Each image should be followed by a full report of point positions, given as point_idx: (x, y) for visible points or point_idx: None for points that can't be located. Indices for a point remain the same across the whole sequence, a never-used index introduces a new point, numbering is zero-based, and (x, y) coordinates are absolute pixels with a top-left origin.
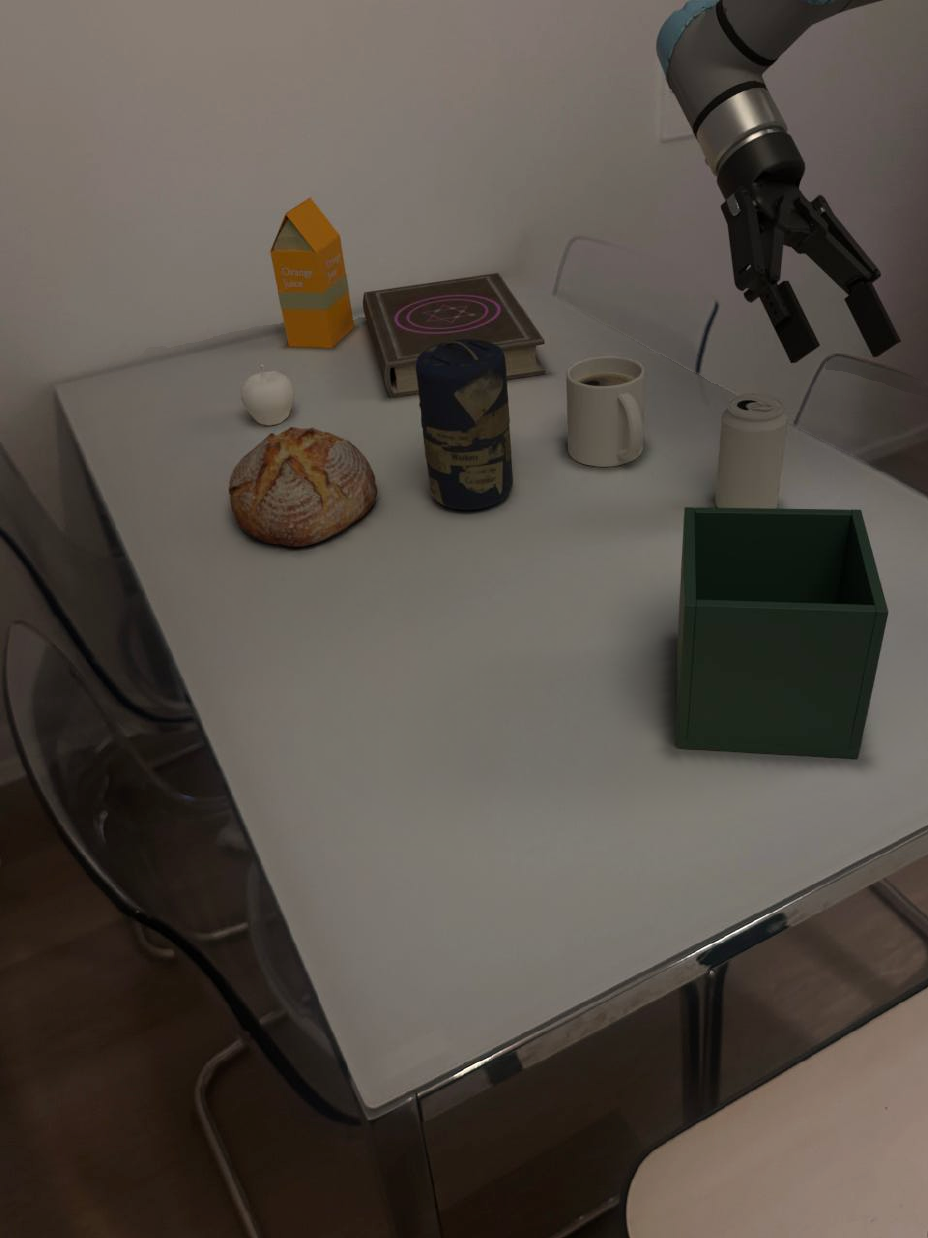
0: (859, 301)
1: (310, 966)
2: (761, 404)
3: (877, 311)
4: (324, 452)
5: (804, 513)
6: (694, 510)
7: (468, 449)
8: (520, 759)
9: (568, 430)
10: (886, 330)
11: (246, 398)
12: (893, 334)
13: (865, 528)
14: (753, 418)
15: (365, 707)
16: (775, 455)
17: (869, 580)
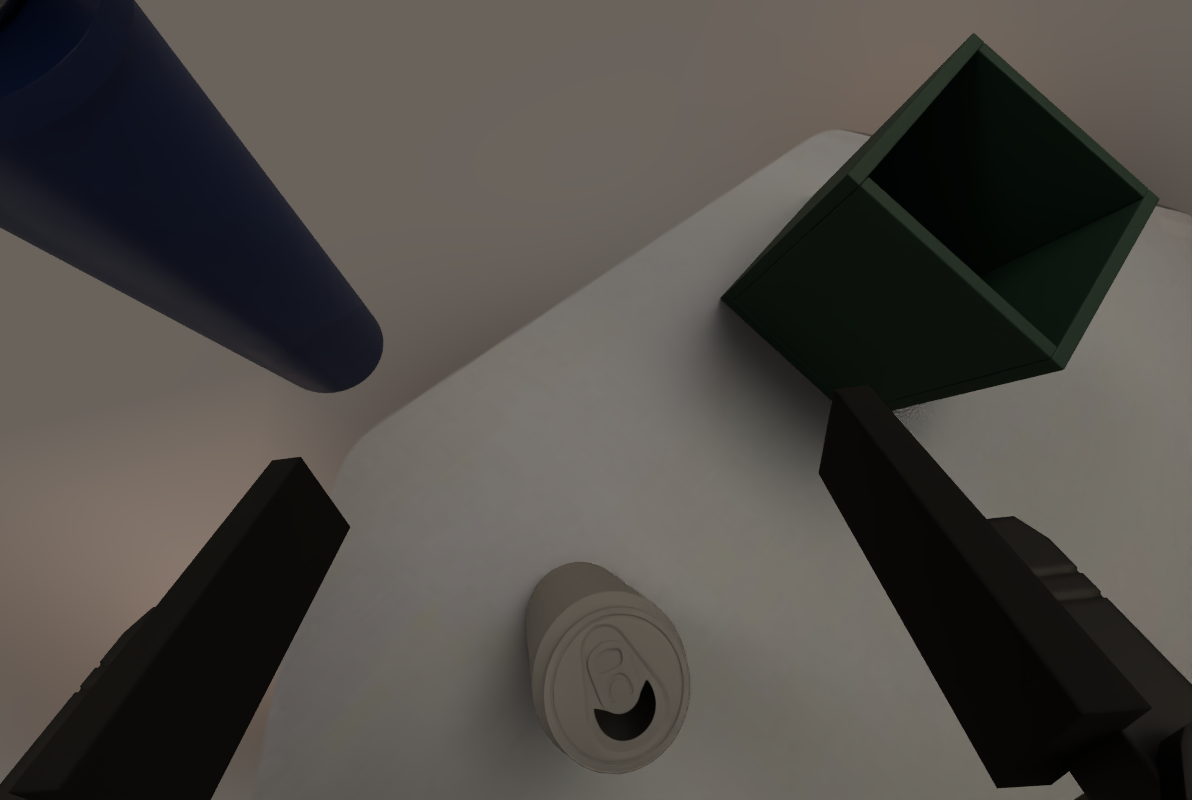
0: (188, 732)
1: None
2: (604, 682)
3: (219, 596)
4: None
5: (922, 227)
6: (1054, 352)
7: None
8: (1054, 383)
9: None
10: (278, 514)
11: None
12: (286, 478)
13: (878, 141)
14: (670, 631)
15: (1160, 545)
16: (597, 579)
17: (954, 75)
